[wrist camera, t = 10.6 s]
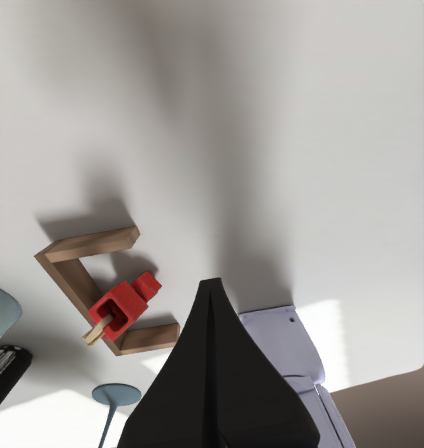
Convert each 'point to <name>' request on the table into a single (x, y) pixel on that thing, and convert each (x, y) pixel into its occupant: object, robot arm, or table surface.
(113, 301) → the toy fire truck
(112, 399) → the cocktail glass
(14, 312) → the grey-green ceramic cup
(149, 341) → the garage bay
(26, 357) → the beverage can
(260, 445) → the robot arm
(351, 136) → the table surface
